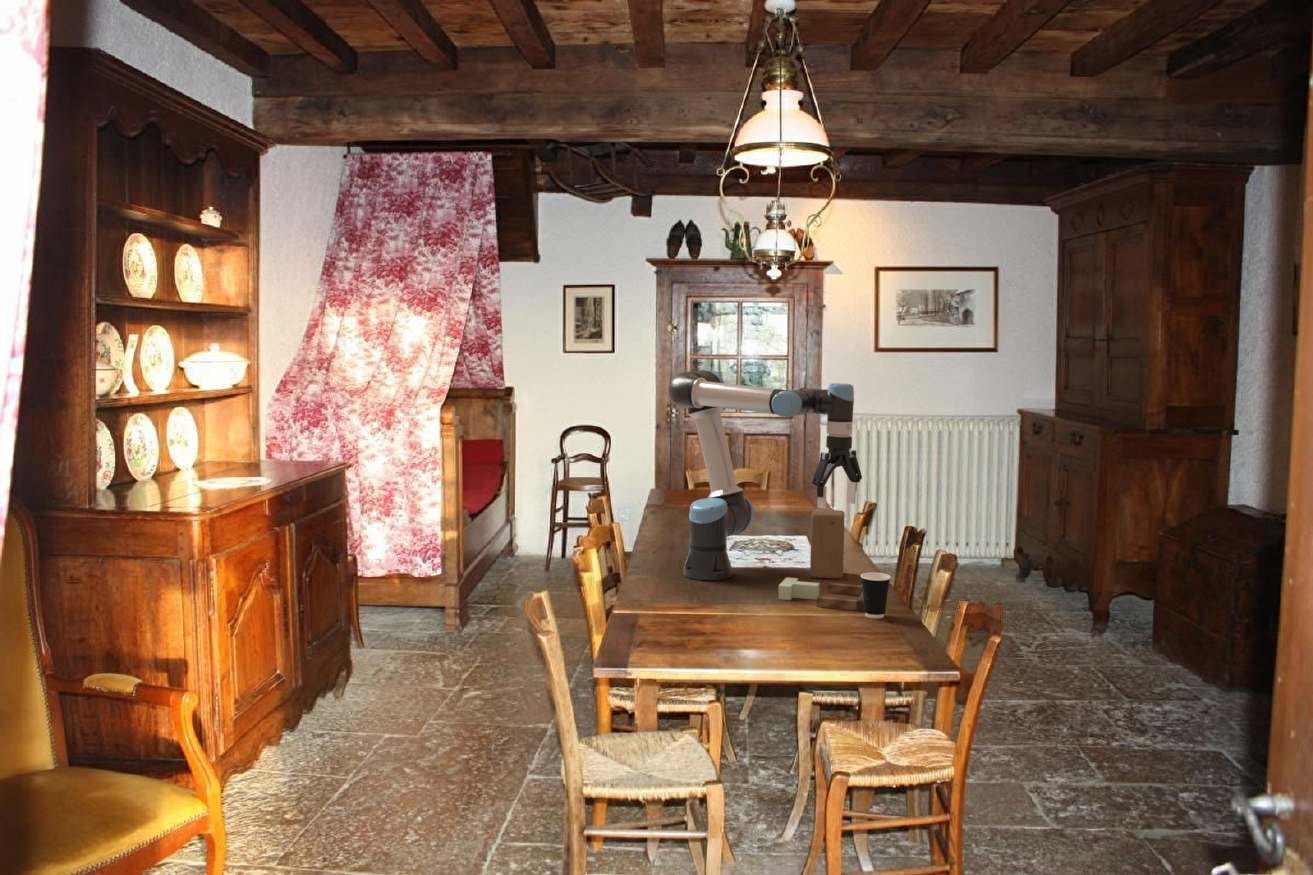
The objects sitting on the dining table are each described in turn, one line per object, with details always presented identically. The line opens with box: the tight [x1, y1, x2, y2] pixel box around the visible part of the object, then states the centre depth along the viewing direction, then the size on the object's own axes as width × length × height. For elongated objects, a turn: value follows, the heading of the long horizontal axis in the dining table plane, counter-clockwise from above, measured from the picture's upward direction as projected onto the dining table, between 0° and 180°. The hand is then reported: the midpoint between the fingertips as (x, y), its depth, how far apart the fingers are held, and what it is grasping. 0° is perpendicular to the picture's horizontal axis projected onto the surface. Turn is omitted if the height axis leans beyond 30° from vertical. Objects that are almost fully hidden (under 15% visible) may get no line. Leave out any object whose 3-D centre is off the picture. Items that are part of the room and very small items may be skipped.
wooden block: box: [809, 509, 846, 580], centre depth 312 cm, size 10×10×20 cm
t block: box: [777, 577, 821, 601], centre depth 288 cm, size 10×10×4 cm
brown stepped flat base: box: [816, 582, 865, 612], centre depth 283 cm, size 13×18×2 cm
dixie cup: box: [860, 572, 891, 619], centre depth 268 cm, size 8×8×11 cm
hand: (836, 505), depth 301 cm, fingers open, 13 cm apart
